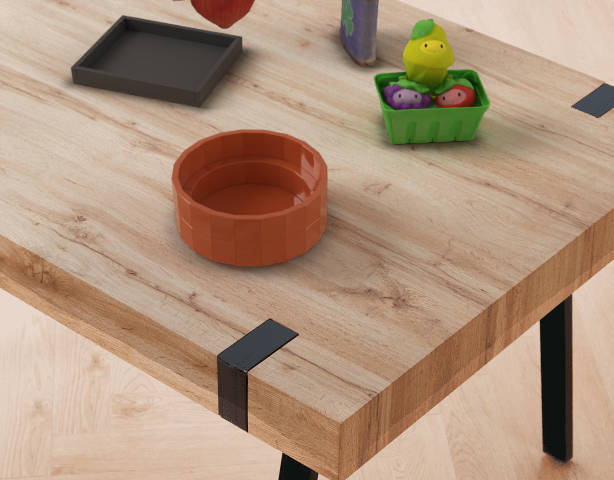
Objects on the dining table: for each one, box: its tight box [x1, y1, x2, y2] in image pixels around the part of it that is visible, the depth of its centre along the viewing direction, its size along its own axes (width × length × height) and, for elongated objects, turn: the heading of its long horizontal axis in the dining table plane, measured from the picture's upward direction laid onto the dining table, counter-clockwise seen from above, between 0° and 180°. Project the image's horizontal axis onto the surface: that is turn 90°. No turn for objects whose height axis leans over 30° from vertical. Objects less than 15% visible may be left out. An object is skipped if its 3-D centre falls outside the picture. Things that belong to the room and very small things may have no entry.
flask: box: [339, 0, 380, 68], centre depth 126 cm, size 9×3×11 cm, turn 17°
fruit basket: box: [373, 18, 491, 145], centre depth 113 cm, size 11×9×11 cm
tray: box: [70, 14, 244, 109], centre depth 123 cm, size 15×13×2 cm
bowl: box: [170, 128, 329, 267], centre depth 101 cm, size 14×14×6 cm
